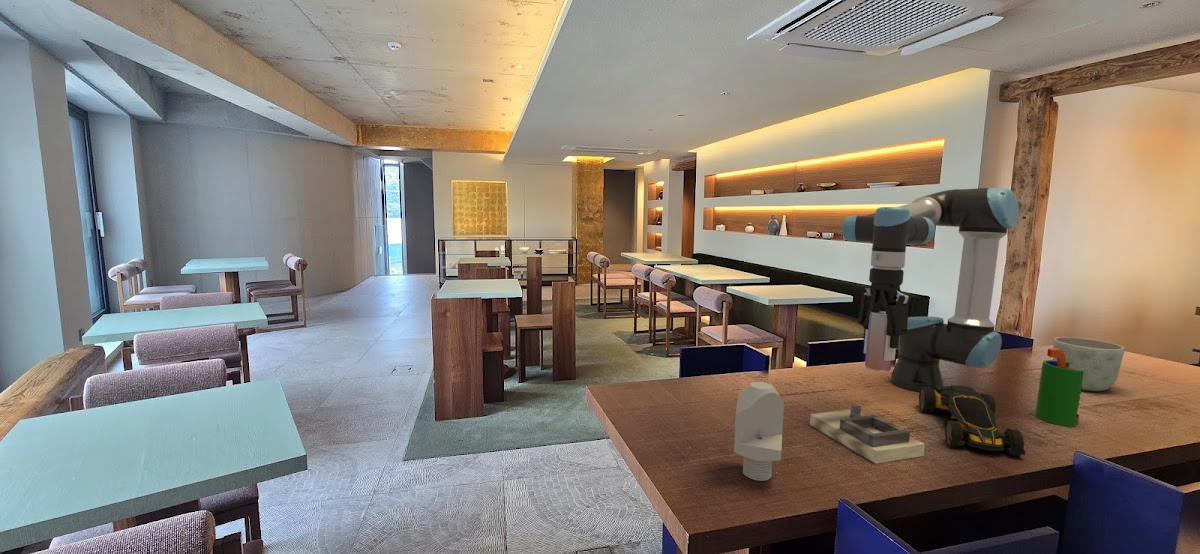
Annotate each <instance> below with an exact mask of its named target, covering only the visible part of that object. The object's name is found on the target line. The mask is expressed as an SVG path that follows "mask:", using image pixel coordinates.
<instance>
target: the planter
mask: <svg viewBox="0 0 1200 554" xmlns="http://www.w3.org/2000/svg"><path fill="white" fill-rule="evenodd" d="M1052 342H1053V343H1052V348H1056V349H1059V350H1061V351H1063V353H1064V354H1065V359H1066V362H1069V368H1071V369H1076V370H1080V371H1084V376H1083V382H1082V388H1081V391H1085V392H1086V391H1087V392H1088V391H1089V392H1101V391H1102V392H1103V391H1106V390H1108V389H1110V388H1112V387H1113V386H1114V385H1115V383H1116V382H1117V380H1118V377H1119V373H1120V370H1121V365H1122V361H1123V358H1124V353H1125V347H1124V346H1123V345H1121V344H1118V343H1115V342H1114V343H1113V342H1111V341H1110V342H1109V341H1105V340H1100V339H1092V338H1085V337H1075V336H1057V337H1054V338H1053V341H1052ZM1052 360H1056V361H1057V357H1052Z"/></svg>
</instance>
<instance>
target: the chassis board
mask: <svg viewBox="0 0 1200 554" xmlns="http://www.w3.org/2000/svg"><path fill="white" fill-rule="evenodd" d="M809 416H810V417H809V418H810V419H809V426H811V427H813V428H815V429H816V430H818V431H820V432H821V433H823V434H825V435H827V436H828V437H830V438H831V439H833V440H835V441H837V442H838V443H840V444H842V445H844V446H845V447H847V448H848V449H851V450H852V451H853V452H855V453H857V454H858V455H860V456H862V457H863V458H865V459H867V460H869V461H871V462H872V463H873V464H876V465H877V464H882V463H889V462H894V461H900V460H902V461H903V460H908V459H912V458H913V459H914V458H920V457H924V456H925V446H926V445H925V443H924V442H922V441H920V440H918V439H916V438H913V437H911V436H910V434H911V431H908V430H907V429H904V428H903V427H901V426H898V425H896V424H894V423H892V422H890V421H888V420H886V419H883V418H881V417H880V416H878V415H876V414H869V415H867V414H864V413H862V407H861V406H860V405H857V404H851V405H850V409H841V410H833V411H826V412H825V411H824V412H817V413H810V415H809Z"/></svg>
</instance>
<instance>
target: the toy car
mask: <svg viewBox="0 0 1200 554" xmlns="http://www.w3.org/2000/svg"><path fill="white" fill-rule="evenodd" d="M942 386H943V385H936V389H935V390H933V389H932V388H930V387H921V389H920V391H919V394H918V395H919V396H918V406H919V410H920V411H921V412H922V413H929V414H931V413H933V412H934V411H935V409H937V410H941V411H943V412H946V413H950V414H951V416H950V418H951V419H956V421H955V420H947V421H946V424H945V428H944V429H945V430H944V432H945V433H944V435H945V442H946V443H947V445H948V446H949V447H954V448H959V447H960V446H965V444H966V445H967V446H969V447H973V448H976V449H980V450H985V451H994V452H1002V451H1005V452H1006V453H1007V455H1009V456H1013V457H1021V456H1022V455H1023V456H1025V455H1026V450H1025V441H1024V435H1023V433H1022V432H1021V431H1020V430H1018V429H1016V428H1007V429H1006V430H1005V431H1004V432H1003V433H1002V432H1000V431H999V430H998V425H997V421H996V420H997V418H996V403H995V398H994V397H993V395H992V394H989V393H979V392H977V391H976V389H974V387H971V386H966V385H965V386H964V385H946V386H944V387H942Z"/></svg>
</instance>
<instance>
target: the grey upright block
mask: <svg viewBox="0 0 1200 554" xmlns="http://www.w3.org/2000/svg"><path fill="white" fill-rule="evenodd" d="M784 407H785V400H784V399H783V397H781V395H780V394H779V392H778V391H777V390H776V388H775V387H774V386H773V385H772V384H770V383H769V382H768V383H767V382H765V381H763V382H762V381H754V382H751V383H749V385H748V386H747V387H745V388H744V389H743V390H742V391H741V393H739V394H738V396H737V401H736V409H735V419H734V421H735V422H734V438H733V439H734V440H733V441H734V442H733V453H735V454H736V455H739V456H741V457H743V463H742V464H743V465H742V473H743V475H744V476H745V477H747V478H749V479H751V480H754V481H759V482H765V481H768V480H769V479H771V477H772V474H773V473H772V470H773V462H778V461H782V449H783V447H782V445H783V429H784V409H785V408H784Z"/></svg>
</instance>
